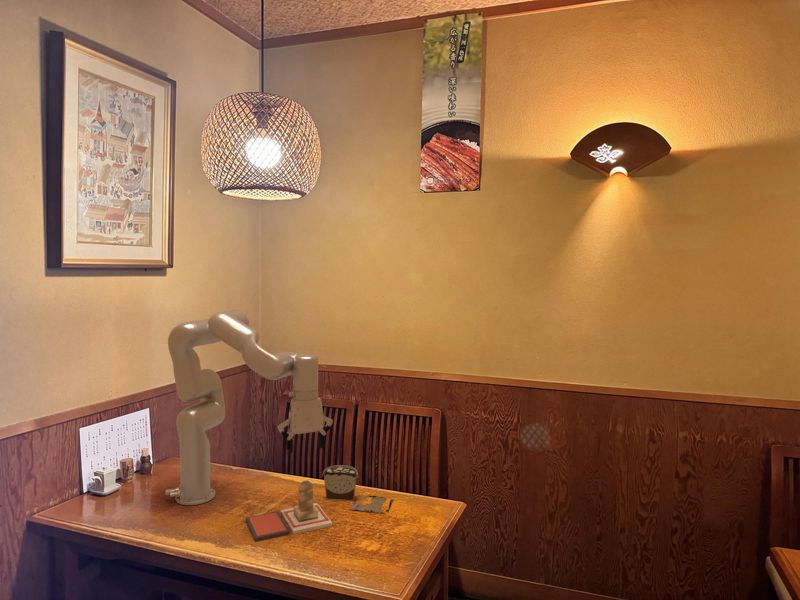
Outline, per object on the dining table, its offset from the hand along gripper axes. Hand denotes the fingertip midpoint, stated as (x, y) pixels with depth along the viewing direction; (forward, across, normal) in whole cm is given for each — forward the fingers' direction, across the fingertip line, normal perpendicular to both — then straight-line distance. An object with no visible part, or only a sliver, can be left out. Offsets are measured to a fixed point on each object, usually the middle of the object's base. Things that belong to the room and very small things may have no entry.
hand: (305, 449), depth 166 cm
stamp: (+21, 0, 0) cm, 21 cm away
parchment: (+23, +23, +1) cm, 32 cm away
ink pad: (+22, -12, 0) cm, 25 cm away
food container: (+22, +16, +11) cm, 30 cm away
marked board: (+22, 0, 0) cm, 22 cm away
